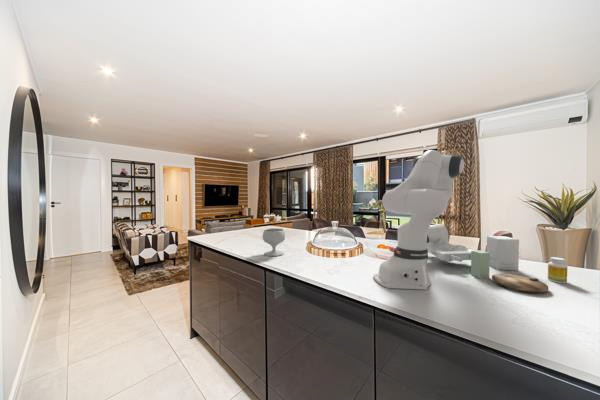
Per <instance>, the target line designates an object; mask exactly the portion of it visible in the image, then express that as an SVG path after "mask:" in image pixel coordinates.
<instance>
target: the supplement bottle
mask: <svg viewBox="0 0 600 400" xmlns="http://www.w3.org/2000/svg"><path fill="white" fill-rule="evenodd" d="M547 280H548V281H551V282H554V283H558V284H559V283H560V284H567V282H568V264H566V259H565V258H562V257H557V256H556V257H555V256H551V257H550V261H548V263H547Z"/></svg>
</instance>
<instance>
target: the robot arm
mask: <svg viewBox="0 0 600 400" xmlns="http://www.w3.org/2000/svg"><path fill="white" fill-rule="evenodd" d="M464 168H465V161H464V158H463V157H462V156H460V155H458V154H453V155H450V154H442V153H441V152H440V151H438V150H435V149H429V150H427V151H424V152H423V153H422V154H421V155H419V156H417V157H416V158H414V160H413V162H412V170H411V171H410V174H409V175H408V176H407V178H406V179H404V181H402V182H401V183H400V184H398V185H397V186H396V187H393V188H392V189H389V190H387V191H386V192H385V193H384V194H383V196H382V200H381V201H382V202H381V204H382V207H383V209H384V210H385V211H387V212H389V213H393V214H396V215H410V218H409V221H408V222H406V223H403V224H401V225H400V226H399V227H398V228H397V245H396V247H394V246H389V248H388V250H389V252H391V253H393V254H391V256H390V257H388V258H387V259H385V260H384V261H383V262H381V263H380V266H379V269H378V272H377V273H373V279H374V281H375V282H376V283H378V284H379V285H380V286H383V287H384V288H388V289H397V290H398V289H399V290H400V289H401V290H407V289H408V290H423V291H425V290H426V291H427V290H428V287H429V286H430V285H431V284H432V282H431V280H430V275H429V269H428V260H429V259H428V258H429V254H431V255H433V256H435V258H437V259H438V260H440V261H448V262H453V261H455V262H458V263H459V262H463V261H471V251H474V250H475V249H472V248H469V247H466V246H465V245H460V244H459V245H458V244H452V243H450V237H451V235H450V231H449V229H448V228H447V226H445V225H444V224H442V223H435V224H432V223H433V221H435V219H436V218H438V217H440V216H441V215H442V214H444V213H445V211H447V208H448V205H449V201H450V200H451V197H452V195H453V187H454V186H453V185H454V181H453V179H455V178H457V177H459V176H460V175H461V174H462V173H463V172H464Z"/></svg>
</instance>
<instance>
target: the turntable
mask: <svg viewBox="0 0 600 400" xmlns="http://www.w3.org/2000/svg"><path fill="white" fill-rule="evenodd" d="M491 280H492V281H493V282H494V283H496V284H498V285H499V284H501V285H504V286H507V287H510V288H514V289H518V290H523V291H530V292H540V293H545V292H547V291H549V285H548V284H546V283H545V282H542V281H540V280H539V278H537V277H527V276H524V275H517V274H511V273H494V274H492V275H491ZM501 285H500V286H501Z"/></svg>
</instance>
